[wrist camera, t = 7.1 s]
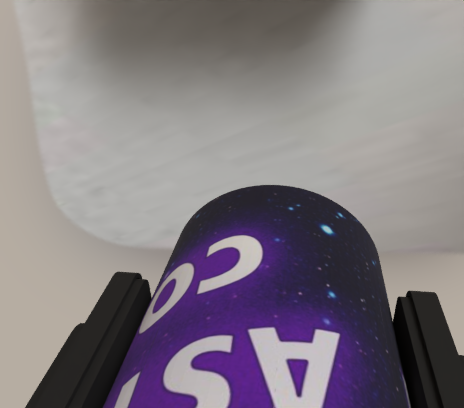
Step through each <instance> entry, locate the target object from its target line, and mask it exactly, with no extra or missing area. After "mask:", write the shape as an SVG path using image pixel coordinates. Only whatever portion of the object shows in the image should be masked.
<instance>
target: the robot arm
mask: <svg viewBox="0 0 464 408" xmlns="http://www.w3.org/2000/svg"><path fill="white" fill-rule="evenodd" d="M151 299H152V298H151V293H150V287H149V282H148V280H144V279H142V276H141V275H140V274H139V273H129V272H116V273H115V274H114V276H113V277H112V278H111V280H110V282H109V284H108V285H107V287H106V289H105V290H104V292H103V294H102V295H101V297H100V299H99V300H98V302H97V304H96V305H95V307H94V309H93V311H92V312H91V314H90V315H89V317H88V319H87V320H86V322H85V323H80V324H79V325H77V326H76V327H75V328H74V330H73V331H72V332H71V334H70V336H69V337H68V339H67V341H66V342H65V344H64V345H63V347H62V349H61V350H60V352H59V353H58V355H57V357H56V358H55V360H54V362H53V363H52V365H51V366H50V368H49V370H48V371H47V373H46V375H45V376H44V378H43V379H42V381H41V383H40V384H39V386H38V388H37V389H36V391H35V392H34V394H33V396H32V397H31V399H30V400H29V402H28V404H27V405H26V407H25V408H103V406H104V404H105V402H106V399H107V397H108V395H109V393H110V390H111V388H112V386H113V384H114V382H115V379H116V377H117V375H118V373H119V370H120V368H121V366H122V364H123V362H124V359H125V357H126V355H127V353H128V350H129V348H130V346H131V344H132V342H133V339H134V337H135V335H136V333H137V330H138V328H139V326H140V324H141V322H142V319H143V317H144V315H145V313H146V310H147V308H148V306H149V304H150V302H151ZM393 326H394V330H395V335H396V340H397V344H398V349H399V354H400V358H401V363H402V368H403V372H404V377H405V381H406V386H407V391H408V395H409V400H410V405H411V408H464V356H462V355H458V352H457V350H456V347H455V344H454V341H453V338H452V336H451V333H450V330H449V327H448V324H447V322H446V319H445V316H444V313H443V311H442V308H441V305H440V302H439V299H438V297H437V295H436V293H434V292H420V291H408V292H407V294H406V297H398V298H397V304H396V309H395V314H394V319H393Z"/></svg>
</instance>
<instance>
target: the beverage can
mask: <svg viewBox="0 0 464 408" xmlns="http://www.w3.org/2000/svg"><path fill="white" fill-rule="evenodd" d="M103 408H411V405H410V400H409V395H408V391H407V386H406V381H405V377H404V372H403V368H402V363H401V358H400V354H399V349H398V344H397V340H396V335H395V330H394V326H393V321H392V317H391V312H390V307H389V303H388V298H387V293H386V289H385V284H384V279H383V275H382V270H381V265H380V261H379V256H378V253H377V250H376V247H375V245H374V242H373V240H372V239H371V237H370V235H369V233H368V232H367V231H366V229H365V228H364V227H363V225H362V224H361V223H360V222H359V221H358V220H357V219H356V218H355V217H354V216H353V215H352V214H351V213H350V212H348V211H347V210H346V209H344V208H343V207H342V206H340V205H339V204H337V203H335V202H334V201H332V200H330V199H328V198H326V197H324V196H322V195H319V194H317V193H314V192H311V191H308V190H304V189H300V188H295V187H290V186H281V185H260V186H252V187H246V188H241V189H237V190H234V191H231V192H228V193H226V194H223V195H221V196H219V197H217V198H215V199H214V200H212V201H210V202H209V203H207V204H206V205H204V206H203V207H202V208H201V209H199V210H198V211H197V212H196V213H195V214H194V215H193V216H192V218H191V219H190V220H189V221H188V223H187V224H186V226H185V227H184V229H183V231H182V233H181V235H180V237H179V239H178V242H177V244H176V246H175V248H174V250H173V253H172V255H171V257H170V259H169V262H168V264H167V266H166V268H165V271H164V273H163V275H162V277H161V279H160V282H159V284H158V286H157V288H156V290H155V293H154V295H153V297H152V299H151V302H150V304H149V306H148V308H147V310H146V313H145V315H144V317H143V319H142V322H141V324H140V326H139V328H138V330H137V333H136V335H135V337H134V339H133V342H132V344H131V346H130V348H129V350H128V353H127V355H126V357H125V359H124V362H123V364H122V366H121V368H120V370H119V373H118V375H117V377H116V379H115V382H114V384H113V386H112V388H111V390H110V393H109V395H108V397H107V399H106V402H105V404H104V406H103Z"/></svg>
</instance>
